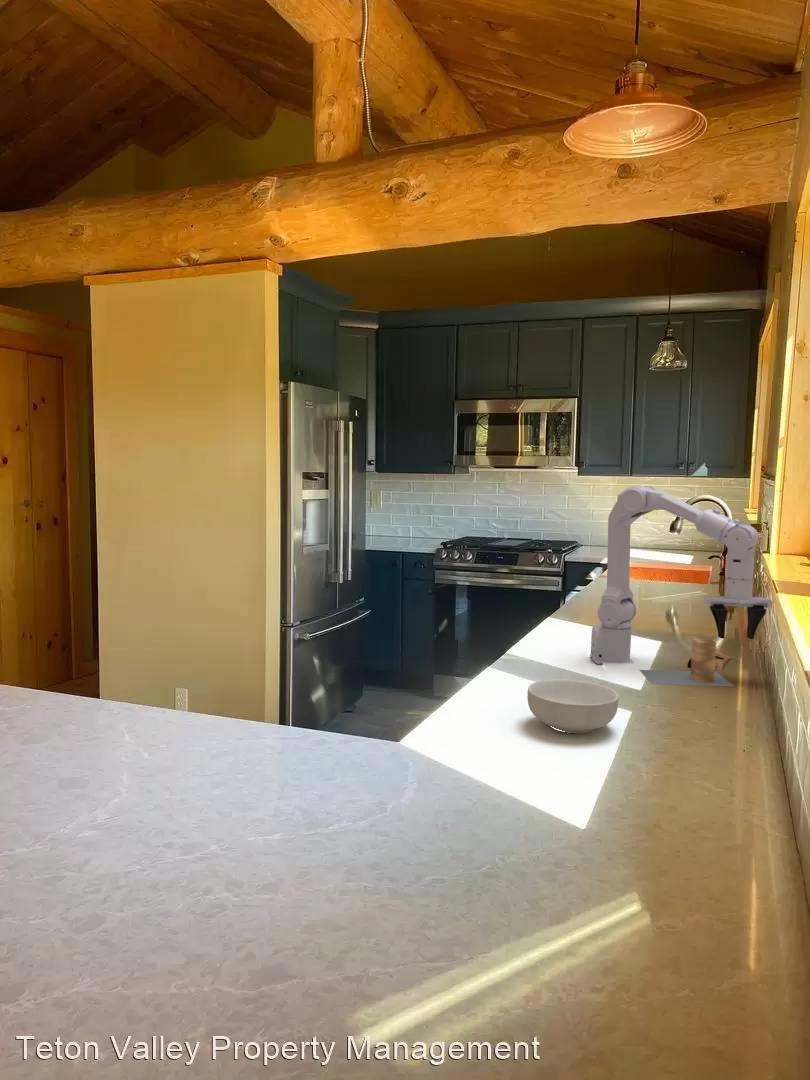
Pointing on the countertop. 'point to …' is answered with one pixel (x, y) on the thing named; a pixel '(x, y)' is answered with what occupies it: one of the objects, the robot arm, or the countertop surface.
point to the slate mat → (680, 678)
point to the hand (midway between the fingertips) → (735, 637)
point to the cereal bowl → (572, 704)
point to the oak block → (703, 660)
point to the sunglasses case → (718, 661)
